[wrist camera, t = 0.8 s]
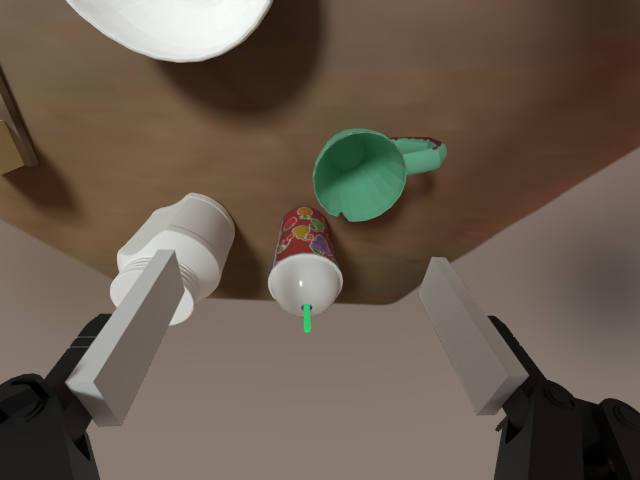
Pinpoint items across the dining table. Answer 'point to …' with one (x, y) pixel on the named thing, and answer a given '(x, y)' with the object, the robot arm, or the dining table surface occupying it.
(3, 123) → the pale yellow block
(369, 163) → the mug
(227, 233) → the jar
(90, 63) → the dining table surface
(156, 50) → the bowl
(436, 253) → the dining table surface
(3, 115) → the board
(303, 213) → the smoothie
